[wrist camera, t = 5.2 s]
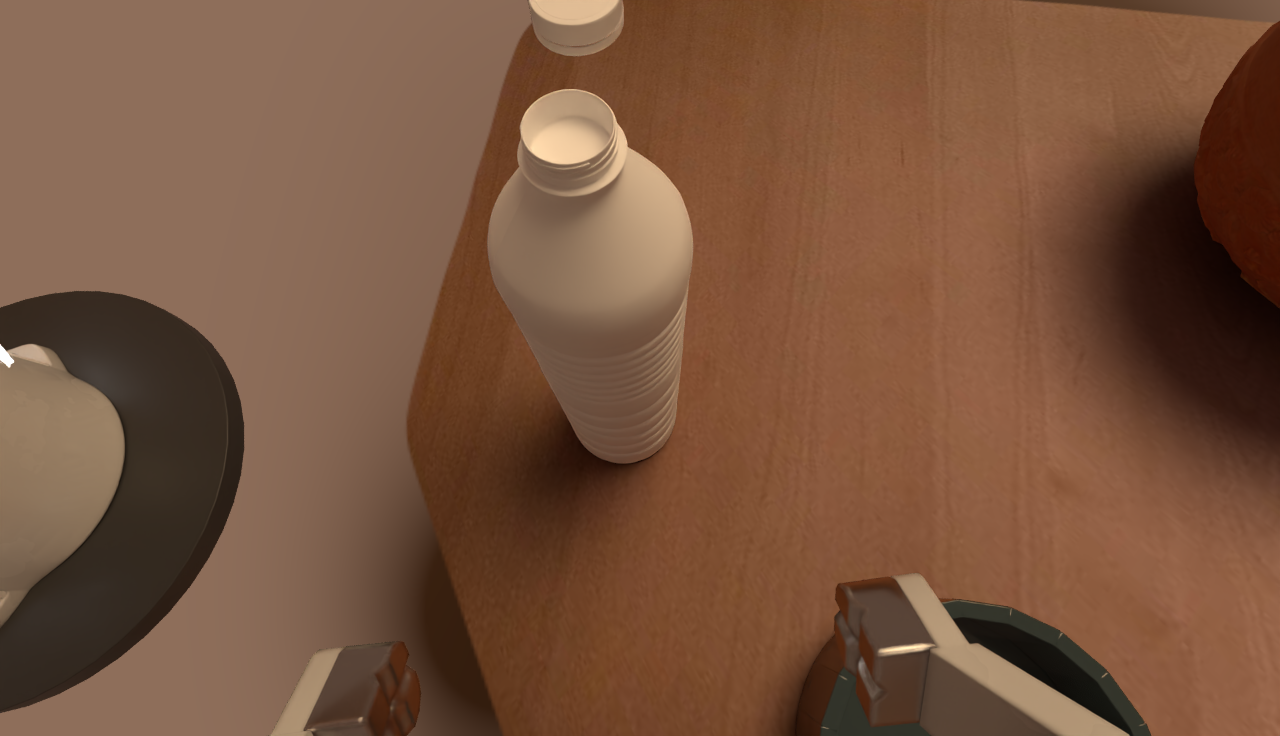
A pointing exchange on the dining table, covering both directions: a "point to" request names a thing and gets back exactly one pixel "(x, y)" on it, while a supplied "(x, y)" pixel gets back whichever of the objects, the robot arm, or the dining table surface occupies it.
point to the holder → (835, 716)
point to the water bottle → (594, 254)
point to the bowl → (1245, 166)
